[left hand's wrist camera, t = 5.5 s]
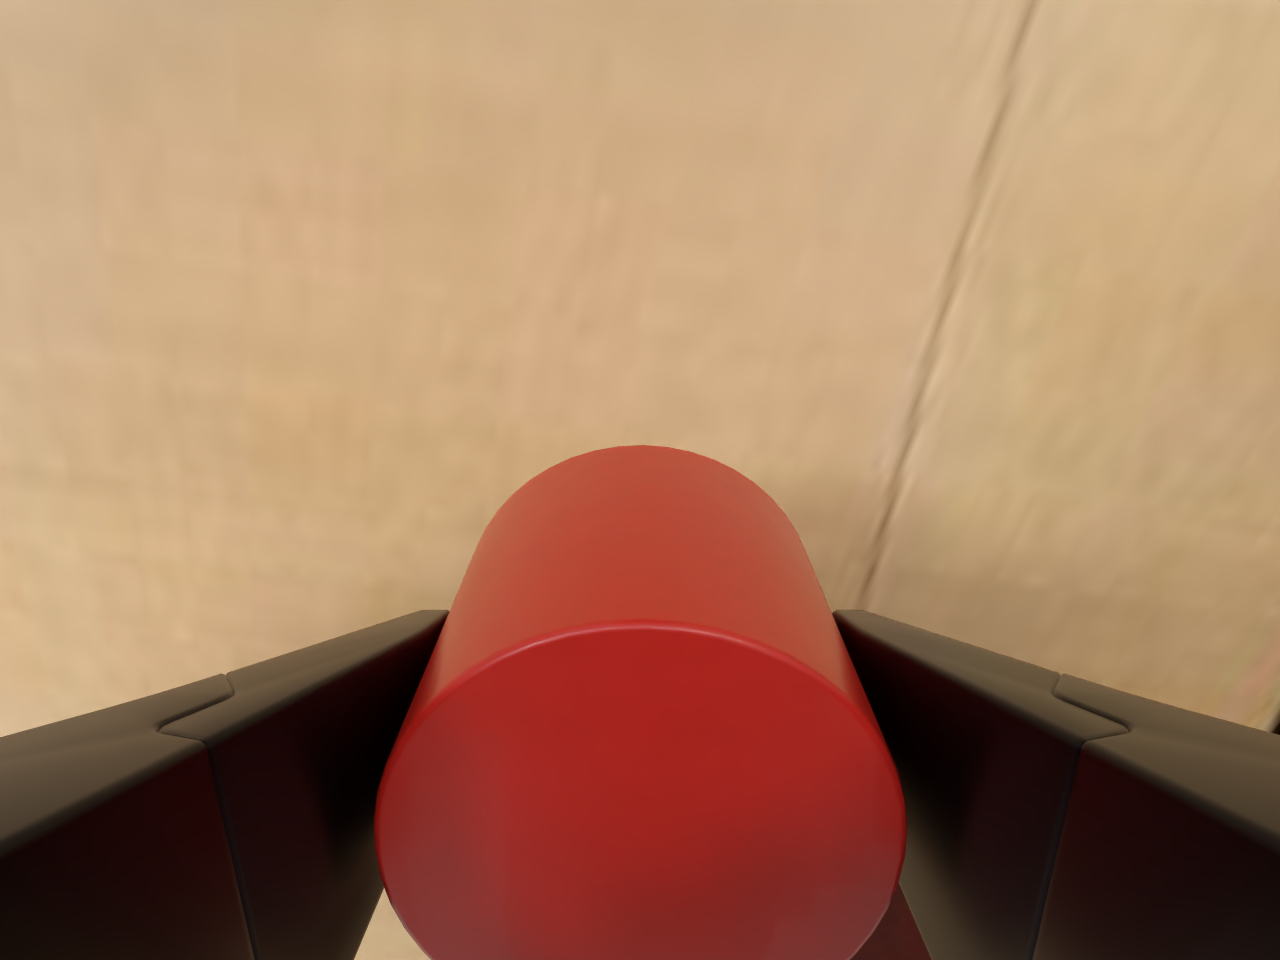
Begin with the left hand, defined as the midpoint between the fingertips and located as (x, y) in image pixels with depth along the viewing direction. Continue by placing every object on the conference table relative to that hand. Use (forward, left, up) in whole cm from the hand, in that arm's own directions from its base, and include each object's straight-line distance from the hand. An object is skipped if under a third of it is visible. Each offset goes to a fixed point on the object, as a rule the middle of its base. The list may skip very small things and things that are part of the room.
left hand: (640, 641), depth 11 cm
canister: (0, 0, -1) cm, 1 cm away
